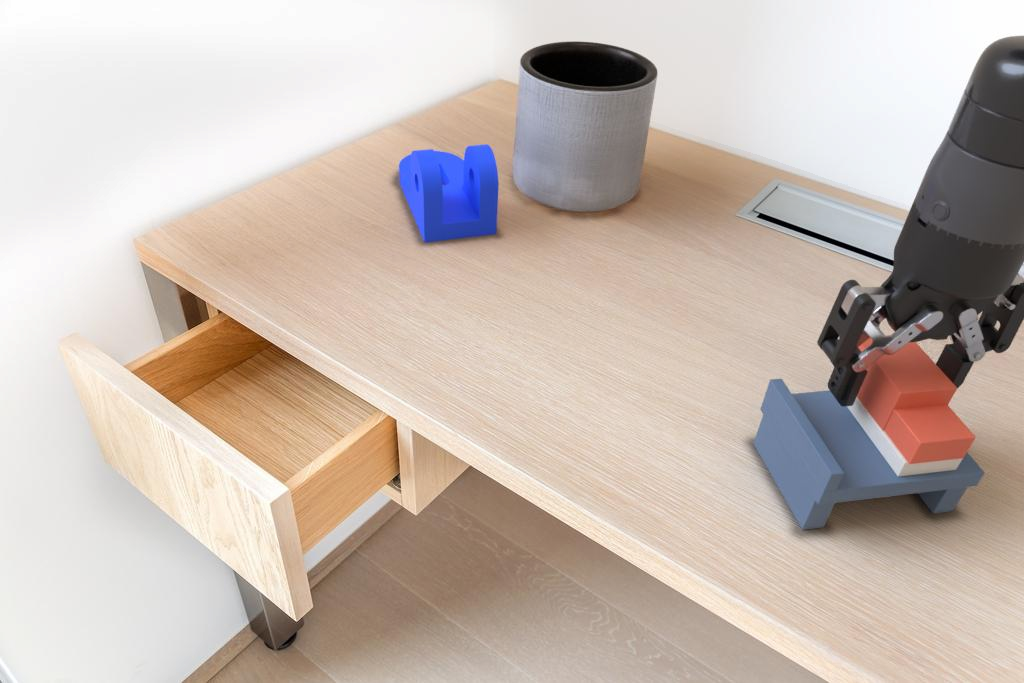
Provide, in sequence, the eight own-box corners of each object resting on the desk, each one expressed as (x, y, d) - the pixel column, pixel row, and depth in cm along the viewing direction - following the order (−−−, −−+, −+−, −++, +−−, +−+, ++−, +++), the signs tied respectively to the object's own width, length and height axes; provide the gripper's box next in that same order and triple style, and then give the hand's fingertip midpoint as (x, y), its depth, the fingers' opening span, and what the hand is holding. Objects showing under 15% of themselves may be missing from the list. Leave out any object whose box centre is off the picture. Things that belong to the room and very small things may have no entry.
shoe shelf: (888, 425, 69) (917, 366, 65) (958, 516, 62) (996, 456, 57) (749, 439, 67) (769, 379, 63) (803, 535, 59) (831, 474, 55)
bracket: (496, 234, 90) (499, 161, 85) (424, 242, 88) (423, 168, 83) (457, 163, 104) (457, 96, 98) (393, 169, 101) (390, 100, 96)
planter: (504, 157, 106) (510, 38, 96) (622, 157, 108) (640, 40, 98) (520, 219, 93) (528, 89, 83) (652, 217, 95) (676, 90, 85)
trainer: (830, 385, 65) (851, 334, 62) (883, 380, 66) (906, 330, 63) (899, 479, 57) (927, 427, 54) (957, 472, 58) (988, 420, 55)
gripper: (1034, 178, 55) (943, 356, 66) (848, 186, 53) (783, 370, 63) (1115, 234, 50) (1002, 419, 60) (911, 246, 47) (829, 437, 58)
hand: (890, 394), depth 62 cm, fingers open, 8 cm apart
